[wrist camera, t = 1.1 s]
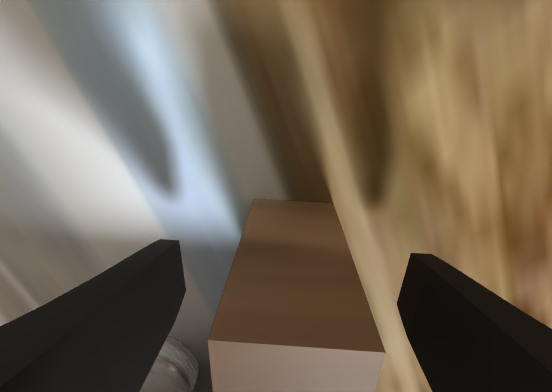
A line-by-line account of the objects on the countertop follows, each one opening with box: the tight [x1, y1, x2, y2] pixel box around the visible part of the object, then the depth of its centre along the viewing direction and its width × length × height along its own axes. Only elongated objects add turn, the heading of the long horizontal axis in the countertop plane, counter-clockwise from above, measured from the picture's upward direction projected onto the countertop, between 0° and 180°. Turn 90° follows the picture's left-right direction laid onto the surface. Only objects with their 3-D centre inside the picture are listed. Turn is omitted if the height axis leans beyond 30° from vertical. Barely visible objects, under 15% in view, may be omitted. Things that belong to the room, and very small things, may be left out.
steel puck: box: [140, 336, 199, 392], centre depth 13 cm, size 5×5×2 cm
